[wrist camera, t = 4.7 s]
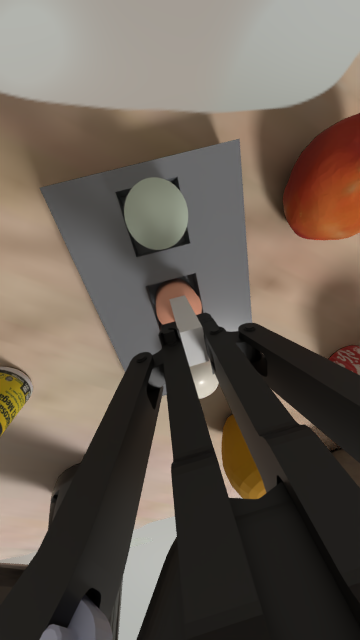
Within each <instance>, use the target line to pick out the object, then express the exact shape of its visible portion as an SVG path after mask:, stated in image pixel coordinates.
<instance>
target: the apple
mask: <svg viewBox="0 0 360 640" xmlns="http://www.w3.org/2000/svg"><path fill="white" fill-rule="evenodd" d="M222 461H223V467H224V470H225V473H226V475H227V477H228V479H229V481H230V483H231V485H232V487H233V488H234V489H235V490H236V491H237V492H238V494H239V495H240V496H241V497H242V498H243V499H259V498H261V497H262V496H263V495H265V494H266V490H265V487H264V484H263V480H262V478H261V475H260V473H259V471H258V469H257V466H256V464H255V462H254V460H253V457H252V455H251V453H250V451H249V449H248V446H247V444H246V442H245V440H244V437H243V435H242V433H241V431H240V429H239V426H238V424H237V422H236V420H235V418H234V415H233V414H232V415H231V416H230V417H228V418H227V420H226V422H225V425H224V427H223V435H222Z"/></svg>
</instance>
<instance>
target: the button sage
mask: <svg viewBox="0 0 360 640" xmlns="http://www.w3.org/2000/svg"><path fill="white" fill-rule="evenodd" d="M124 216H125V222H126V225H127V228H128V230H129V232H130V233H131V235H132V236H133V238H134V239H135V240H136V241H137V242H138V243H140V244H141V245H143V246H145V247H147V248H149V249H153V250H163V249H167V248H169V247H171V246H173V245H175V244H176V243H177V242H178V241H179V240H180V239H181V238H182V236H183V234H184V232H185V230H186V227H187V223H188V208H187V204H186V201H185V199H184V197H183V195H182V193H181V192H180V190H179V189H178V188H177V187H176V186H175V185H174V184H172V183H171V182H169V181H167V180H165V179H162V178H157V177H151V178H146V179H143V180H141V181H140V182H138V183H137V184H135V185H134V187H133V188H132V189H131V190H130V192H129V194H128V195H127V198H126V201H125V206H124Z"/></svg>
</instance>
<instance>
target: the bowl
mask: <svg viewBox="0 0 360 640" xmlns="http://www.w3.org/2000/svg"><path fill="white" fill-rule="evenodd" d="M332 454H333V456H334V457H335V458H336V459H337V461H338V462H339V463H340V464H341V465H342V467H343V468H344V469H345V470H346V472H347V473H348V474H349V475H350V476H351V478H352V479H353V480H354V481H355V483H356V484H357V485H358V486H359V488H360V463H359V462H358V461H356V460H355V459H354V458H353V457H352V456H350V455H349V454H348V453H347V452H346V451H344V450H343V449H341V450H336V451H334V452H332Z"/></svg>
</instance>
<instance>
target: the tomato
mask: <svg viewBox="0 0 360 640" xmlns="http://www.w3.org/2000/svg"><path fill="white" fill-rule="evenodd" d="M283 205H284V214H285V216H286V219H287V222H288V223H289V225H290V227H291V228H292V229H293V231H294V232H295V233H296V234H297V235H298V236H300V237H302V238H306V239H312V240H338V239H344V238H348V237H351V236H353V235H355V234H357V233H360V113H359V114H356V115H353V116H351V117H348V118H345V119H343V120H341V121H339V122H337V123H336V124H334V125H332V126H331V127H329V128H328V129H326V130H325V131H323V132H322V133H320V134H319V135H318V136H317V137H315V138H314V139H313V140H312V142H311V143H310V144H309V145H308V146H307V147H306V148H305V150H304V151H303V152H302V153H301V155H300V156H299V158H298V160H297V161H296V163H295V165H294V167H293V169H292V172H291V175H290V178H289V180H288V183H287V185H286V187H285V191H284V195H283Z"/></svg>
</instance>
